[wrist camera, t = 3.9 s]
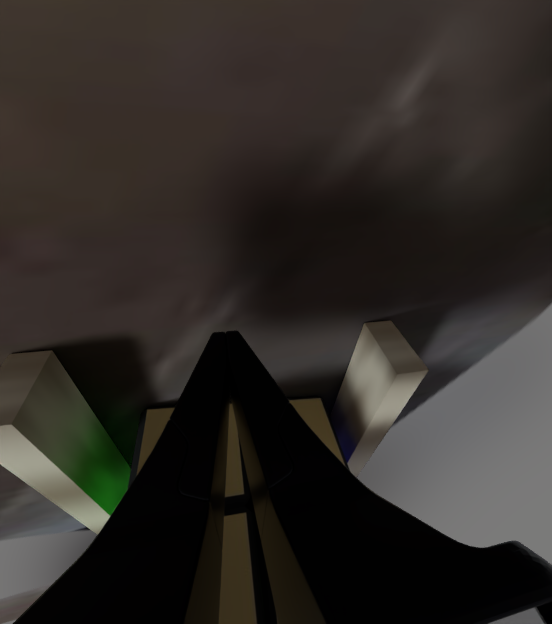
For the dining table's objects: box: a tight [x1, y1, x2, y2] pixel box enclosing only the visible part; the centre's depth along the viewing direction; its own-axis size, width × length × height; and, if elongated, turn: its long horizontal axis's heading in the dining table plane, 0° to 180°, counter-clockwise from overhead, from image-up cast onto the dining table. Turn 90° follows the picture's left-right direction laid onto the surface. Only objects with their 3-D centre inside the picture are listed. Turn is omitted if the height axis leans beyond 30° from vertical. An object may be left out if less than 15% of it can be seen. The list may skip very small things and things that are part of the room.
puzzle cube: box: [127, 397, 350, 624], centre depth 15 cm, size 10×10×10 cm
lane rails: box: [0, 321, 429, 535], centre depth 14 cm, size 12×16×3 cm
